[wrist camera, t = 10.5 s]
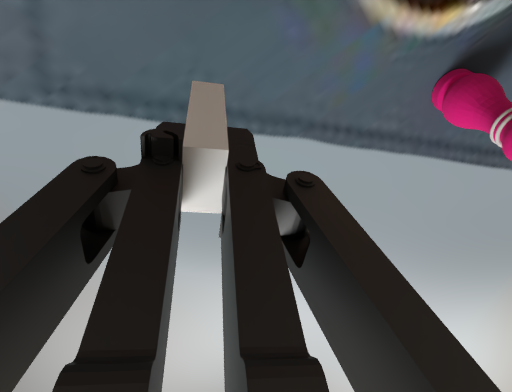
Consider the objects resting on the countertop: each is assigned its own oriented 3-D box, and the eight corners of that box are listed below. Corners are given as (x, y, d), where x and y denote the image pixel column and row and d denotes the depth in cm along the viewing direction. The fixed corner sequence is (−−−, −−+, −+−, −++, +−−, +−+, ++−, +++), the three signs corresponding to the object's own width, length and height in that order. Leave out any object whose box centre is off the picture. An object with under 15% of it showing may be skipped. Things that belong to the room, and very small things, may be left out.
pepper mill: (422, 84, 48) (524, 152, 32) (471, 54, 46) (607, 110, 30) (434, 121, 52) (532, 198, 36) (481, 95, 50) (605, 164, 34)
